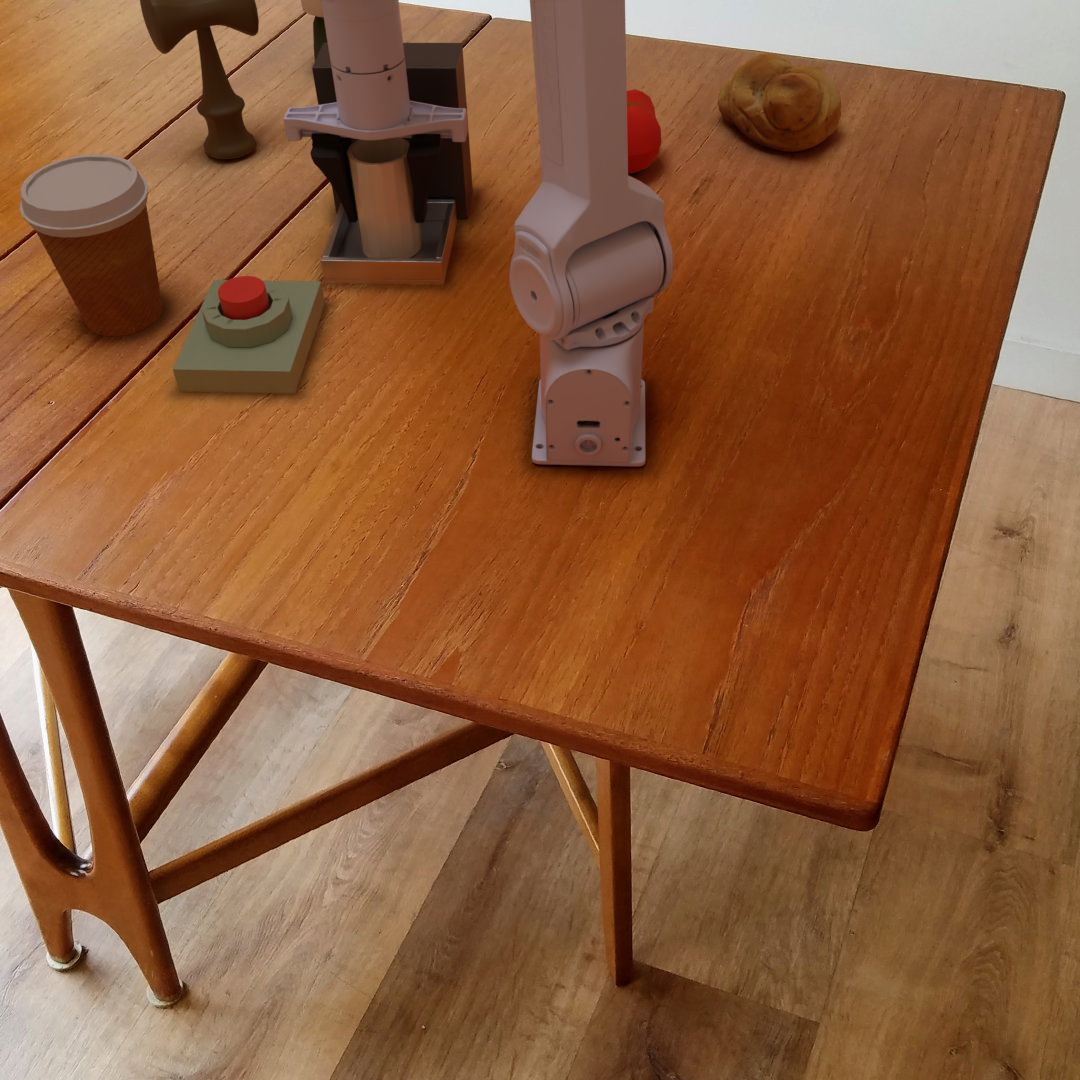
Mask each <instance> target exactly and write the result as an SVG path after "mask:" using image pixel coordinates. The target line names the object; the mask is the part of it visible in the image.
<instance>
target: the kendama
mask: <svg viewBox="0 0 1080 1080" xmlns="http://www.w3.org/2000/svg"><path fill="white" fill-rule="evenodd" d="M139 4H140V10H141V14H142V17H143V21H144V24H145V27H146V29H147V32H148V34H149V38H150V39H151V41H152V43H153V45H154V47H155V48H156V50H158V51H159V52H160V53H161V54H163V55H167V54H169V53H170V52H171V51H173V49H174V48H175V47H177V45H178V44H179V43H181V41H182V40H183V39H184V38H186V37H187V36H188V35H189V34H191V33H193V32H195V31H196V38H197V45H198V52H199V60H200V70H201V71H200V72H201V84H202V94H201V100H199V102H198V103H197V104H196V110H197V113H198V114H199V115H200V116H201V117H203V118H204V120H205V122H206V126H207V136H206V138H205V139H204V142H203V143H202V147H203V150H204V153H206V154H207V155H208V156H209V157H211V158H213V159H217V160H232V159H238V158H242V157H244V156H247V155H248V154H250V153H251V152H253V151H254V149H255V148H256V145H257V140H256V138H255V135H254V134H253V133H251V132H250V131H249V130H248V129H247V128H246V125H245V122H244V118H243V110H244V108H245V106H246V103H245V100H244V98H243V97H241V96H239V95H238V94H237V93H236V92H235V91H234V89H233V87H232V85H231V83H230V81H229V78H228V75H227V73H226V70H225V67H224V64H223V62H222V59H221V56H220V53H219V51H218V48H217V45H216V41H215V38H214V35H213V32H212V27H213V26H221V27H226V28H230V29H232V30H235V31H237V32H239V33H242V34H244V35H247V36H250V37H254V36H256V35H257V34H258V33H259V29H260V28H259V27H260V19H259V13H258V7H257V3H256V0H139Z"/></svg>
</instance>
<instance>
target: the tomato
mask: <svg viewBox="0 0 1080 1080" xmlns="http://www.w3.org/2000/svg"><path fill="white" fill-rule="evenodd" d="M661 144H662V129H661V126H660V123H659V121H658V119H657V115H656V108H655V105H654V103H653V100H652V99H651V96H649V95H647V94H646V93H645V92H643V91H642V90H639V89H635V88H634V89H629V90H628V89H627V146H628V175H630V174H635V173H637V172H640V171H642V170H646V169H649V167H650V166H651V165H652V163H653V162H654V160H655V159H657V156H658V155H659V153H660V149H661Z"/></svg>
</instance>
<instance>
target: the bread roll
mask: <svg viewBox="0 0 1080 1080" xmlns="http://www.w3.org/2000/svg"><path fill="white" fill-rule="evenodd" d="M717 97H718V98H717V106H718V107H717V108H718V111H719V113H720V114H721V116H722V117H723V119H724V120H725V121H727V122H728V123H729V124H731V125H733V126H735V127H737V128H738V130H739V131H740V132H741V134H743V135H745V136H746V137H747V138H749V139H750V140H751V141H753V142H754V143H756V144H757V145H759V146H762V147H766V148H768V149H769V148H770V149H772V150H775V151H780V152H787V153H795V152H802V151H805V150H808V149H812V148H815V147H816V146H818V145H819V144H822V143H823V142H824V141H825V140H827V138H828V137H829V136H831V135H832V134H833V133H834V132H835V131H836V130H837V127H838V126H839V123H840V119H841V116H842V97H841V94H840V92H839V89H838V87H837V85H836V81H835V80H834V79H833V78H832V77H831V76H829V75H828V73H827V72H825V71H824V70H823V69H822V68H821V67H820V66H816V65H815V66H814V65H796V66H794V65H793V63H791V62H790V60H789V59H788V58H786V57H784V56H781V55H778V54H776V53H775V54H774V53H773V54H772V53H761V54H759V55H757V56H755V57H752V58H750V59H749V60H746V62H745V63H742V64H741V65H740V66H739V67H737V69H736V70H735V71H734V73H733V75H732V77H731V78H730V80H728V81H726V82H725V83H724V84H723V85H722V86H720V88H719V92H718V96H717Z"/></svg>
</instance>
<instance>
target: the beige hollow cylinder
mask: <svg viewBox="0 0 1080 1080" xmlns="http://www.w3.org/2000/svg"><path fill="white" fill-rule="evenodd" d="M409 145H410V144H409V142H408V141H406V140H405V139H403V138H389V139H382V140H357V141H355V142H354V143H353V144H352V145H351V146H349V148H348V151H347V157H348V164H349V170H350V177H351V183H352V190H353V196H354V203H355V209H356V215H357V222H358V229H359V235H360V242H361V245H362V250H363V253H364V254H365V255H366V256H367V257H371V258H410V257H412V256H414V255H415V254H416V253H417V252H418V251H419V250H420V248H421V245H422V243H421V229H420V223H416V220H415V214H414V193H413V185H412V180H411V174H410V170H409V165H408V161H407V152H408V148H409Z"/></svg>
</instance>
